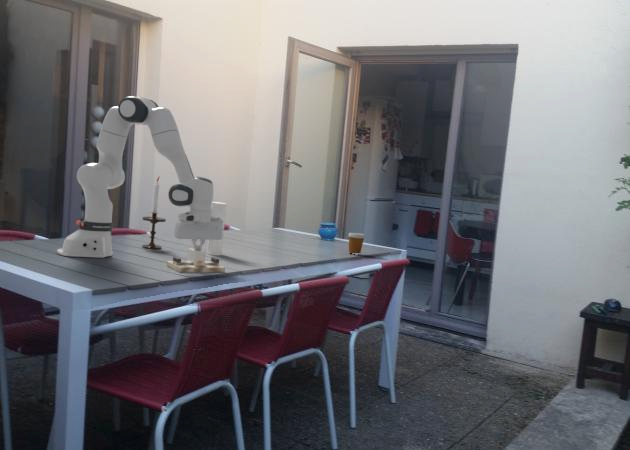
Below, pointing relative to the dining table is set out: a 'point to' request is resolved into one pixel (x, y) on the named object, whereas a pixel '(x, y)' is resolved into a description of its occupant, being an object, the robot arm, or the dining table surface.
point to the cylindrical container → (219, 212)
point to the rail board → (189, 267)
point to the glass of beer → (355, 242)
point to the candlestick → (154, 220)
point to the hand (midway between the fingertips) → (197, 249)
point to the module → (196, 257)
